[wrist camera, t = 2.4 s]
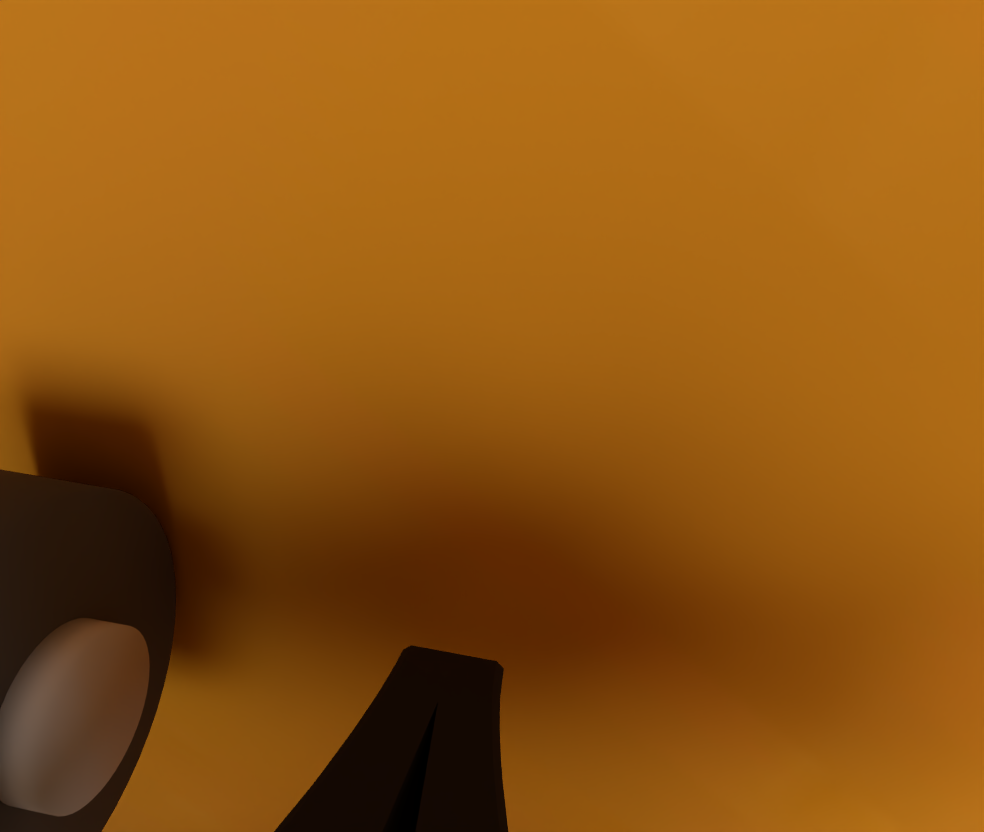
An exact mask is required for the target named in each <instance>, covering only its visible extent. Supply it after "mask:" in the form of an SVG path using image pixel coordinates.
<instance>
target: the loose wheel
mask: <svg viewBox="0 0 984 832" xmlns="http://www.w3.org/2000/svg"><path fill="white" fill-rule="evenodd" d="M175 609H176V589H175V574H174V567H173V560H172V556H171V552H170V548H169V544H168V541H167V538H166V536H165V533H164V531H163V528H162V527H161V525H160V523H159V521H158V520H157V518H156V516H155V515H154V514H153V513H152V511H151V510H150V509H149V508H148V507H147V506H146V505H145V504H144V503H143V502H142V501H140V500H139V499H137V498H136V497H135V496H133V495H131V494H128V493H126V492H123V491H121V490H116V489H111V488H105V487H99V486H93V485H87V484H81V483H75V482H70V481H64V480H58V479H52V478H46V477H40V476H34V475H29V474H23V473H17V472H11V471H5V470H0V832H101V831H102V830H103V828H104V826H105V824H106V823H107V821H108V819H109V818H110V816H111V814H112V812H113V811H114V809H115V807H116V805H117V803H118V801H119V799H120V797H121V795H122V793H123V791H124V789H125V788H126V786H127V784H128V781H129V779H130V777H131V775H132V773H133V770H134V768H135V766H136V764H137V762H138V759H139V757H140V754H141V752H142V749H143V747H144V744H145V742H146V739H147V737H148V734H149V731H150V728H151V726H152V723H153V720H154V717H155V714H156V711H157V708H158V704H159V701H160V697H161V694H162V690H163V687H164V682H165V678H166V674H167V669H168V665H169V660H170V654H171V648H172V642H173V634H174V625H175Z"/></svg>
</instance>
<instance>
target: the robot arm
mask: <svg viewBox="0 0 984 832" xmlns="http://www.w3.org/2000/svg"><path fill="white" fill-rule="evenodd" d="M503 671H504V668H503V667H502V666H501V665H500V664H499V663H498V662H497V661H492V660H487V659H482V658H476V657H471V656H465V655H460V654H455V653H449V652H444V651H438V650H433V649H428V648H422V647H417V646H410V647H408V648H406V649H404V650H403V651H402V653H401V655H400V657H399V659H398V661H397V663H396V664H395V666H394V668H393V670H392V671H391V673H390V675H389V676H388V678H387V680H386V681H385V683H384V685H383V686H382V688H381V689H380V691H379V693H378V694H377V696H376V697H375V699H374V700H373V702H372V703H371V705H370V706H369V708H368V709H367V711H366V712H365V714H364V715H363V717H362V718H361V720H360V721H359V723H358V724H357V725H356V727H355V728H354V730H353V731H352V733H351V734H350V735H349V737H348V738H347V739H346V741H345V742H344V743H343V745H342V746H341V747H340V749H339V750H338V752H337V753H336V754H335V756H334V757H333V758H332V760H331V761H330V762H329V764H328V765H327V766H326V768H325V769H324V770H323V772H322V773H321V775H320V776H319V777H318V778H317V780H316V781H315V782H314V784H313V785H312V786H311V787H310V789H309V790H308V791H307V792H306V794H305V795H304V796H303V797H302V798H301V800H300V801H299V802H298V803H297V805H296V806H295V807H294V808H293V809H292V811H291V812H290V813H289V814H288V815H287V817H286V818H285V819H284V820H283V822H282V823H281V824H280V825H279V826H278V828H277V829H276V830H275V831H274V832H508V826H507V817H506V808H505V799H504V790H503V781H502V768H501V752H500V694H501V686H502V678H503Z"/></svg>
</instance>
